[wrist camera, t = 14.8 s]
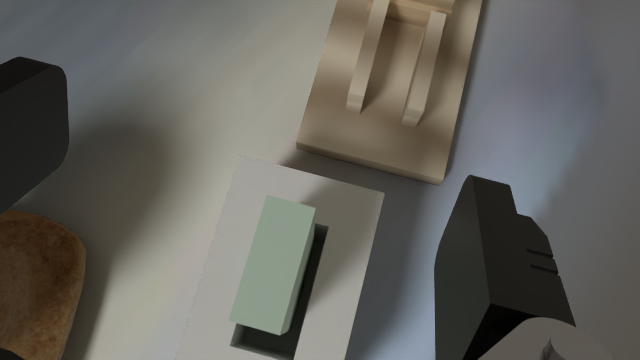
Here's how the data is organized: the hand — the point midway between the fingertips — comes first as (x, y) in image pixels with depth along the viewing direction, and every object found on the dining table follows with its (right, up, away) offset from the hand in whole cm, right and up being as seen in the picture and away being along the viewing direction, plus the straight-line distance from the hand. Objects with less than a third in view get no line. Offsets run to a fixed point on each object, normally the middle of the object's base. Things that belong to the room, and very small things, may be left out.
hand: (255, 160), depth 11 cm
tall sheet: (-1, -7, +24) cm, 25 cm away
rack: (+7, +8, +29) cm, 31 cm away
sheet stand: (-1, -8, +25) cm, 26 cm away
